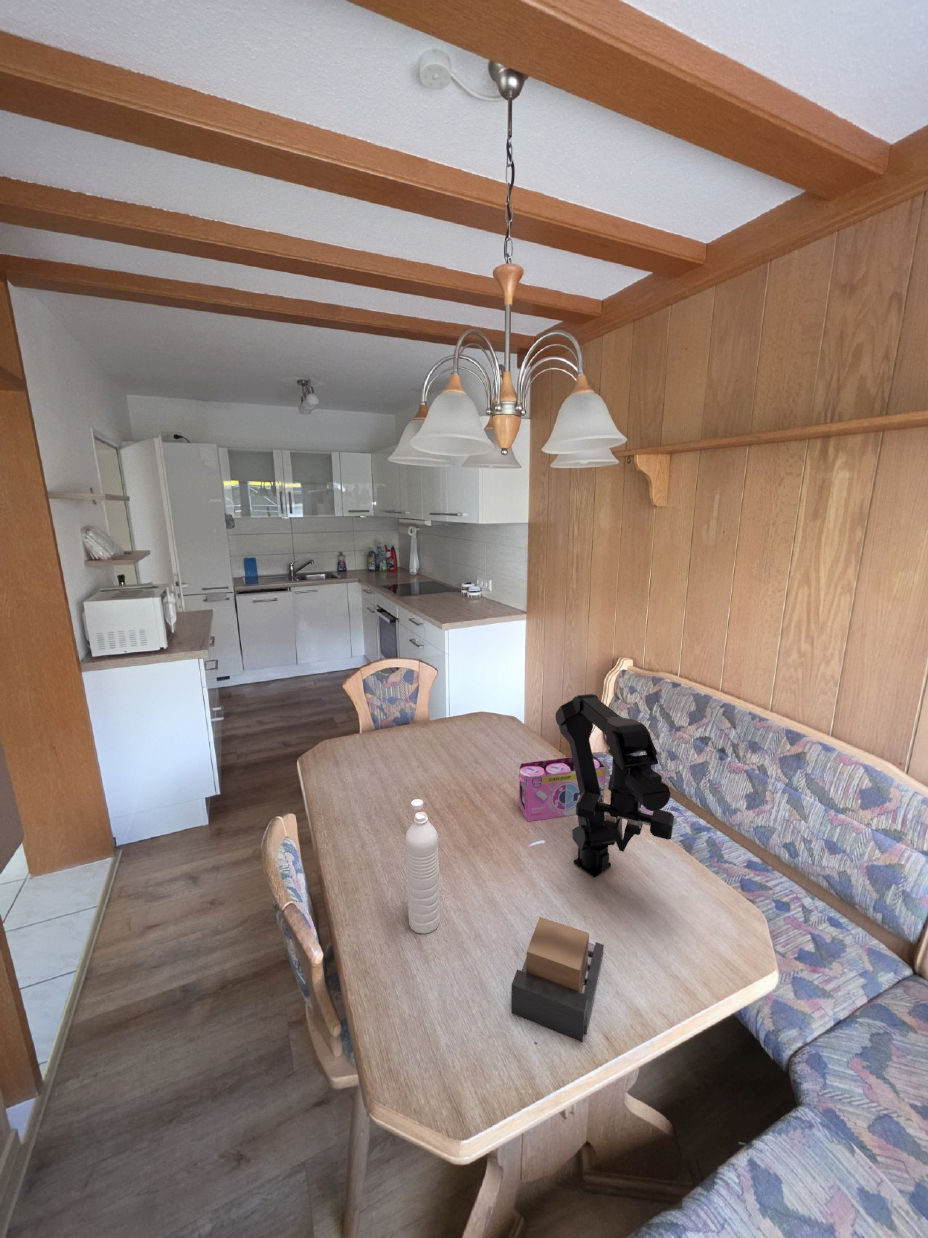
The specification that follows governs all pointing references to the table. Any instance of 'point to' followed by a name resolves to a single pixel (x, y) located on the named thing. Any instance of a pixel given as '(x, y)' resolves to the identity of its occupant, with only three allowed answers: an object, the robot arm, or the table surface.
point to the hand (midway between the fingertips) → (621, 850)
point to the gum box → (552, 788)
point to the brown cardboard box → (558, 954)
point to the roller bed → (557, 999)
